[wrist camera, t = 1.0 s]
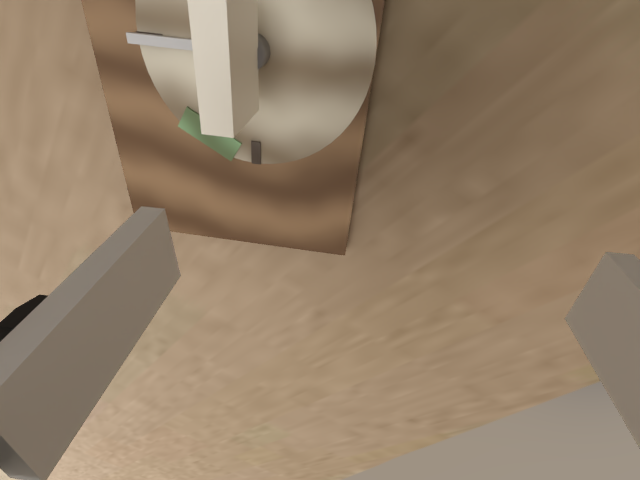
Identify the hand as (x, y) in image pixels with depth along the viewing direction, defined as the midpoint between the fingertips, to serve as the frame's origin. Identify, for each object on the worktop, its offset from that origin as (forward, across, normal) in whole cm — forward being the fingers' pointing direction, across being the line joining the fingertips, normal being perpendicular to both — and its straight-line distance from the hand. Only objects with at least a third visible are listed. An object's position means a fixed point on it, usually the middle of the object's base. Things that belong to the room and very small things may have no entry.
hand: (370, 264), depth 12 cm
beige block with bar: (+20, -13, +3) cm, 25 cm away
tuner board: (+23, -11, 0) cm, 25 cm away
